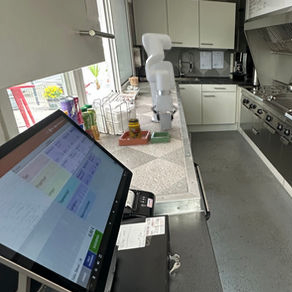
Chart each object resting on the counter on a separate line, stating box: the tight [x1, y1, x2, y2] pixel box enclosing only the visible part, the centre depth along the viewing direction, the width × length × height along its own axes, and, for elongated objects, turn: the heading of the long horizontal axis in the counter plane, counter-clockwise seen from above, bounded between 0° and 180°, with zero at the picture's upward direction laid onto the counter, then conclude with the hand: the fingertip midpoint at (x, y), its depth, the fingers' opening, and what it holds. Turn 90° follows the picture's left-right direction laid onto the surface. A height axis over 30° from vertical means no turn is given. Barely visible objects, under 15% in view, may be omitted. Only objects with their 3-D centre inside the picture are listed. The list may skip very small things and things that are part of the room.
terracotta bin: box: [118, 129, 152, 146], centre depth 136 cm, size 16×14×4 cm
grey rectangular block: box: [159, 112, 173, 131], centre depth 151 cm, size 4×7×10 cm, turn 113°
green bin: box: [150, 131, 171, 144], centre depth 138 cm, size 11×9×4 cm
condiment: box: [127, 118, 144, 139], centre depth 135 cm, size 7×8×12 cm
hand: (165, 120), depth 151 cm, fingers closed on grey rectangular block, 7 cm apart
